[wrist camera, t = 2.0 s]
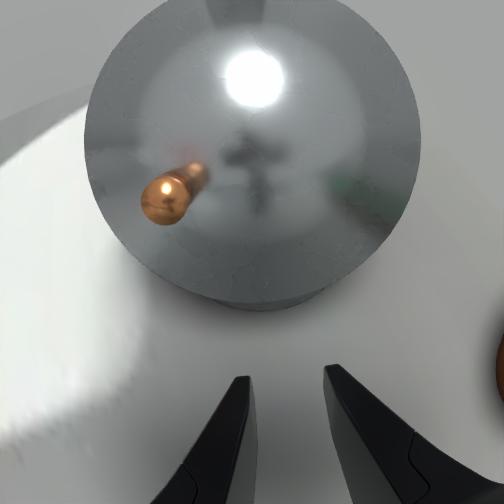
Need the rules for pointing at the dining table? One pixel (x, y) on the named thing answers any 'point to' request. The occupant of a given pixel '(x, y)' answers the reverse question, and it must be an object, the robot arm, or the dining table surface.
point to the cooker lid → (252, 144)
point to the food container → (500, 369)
